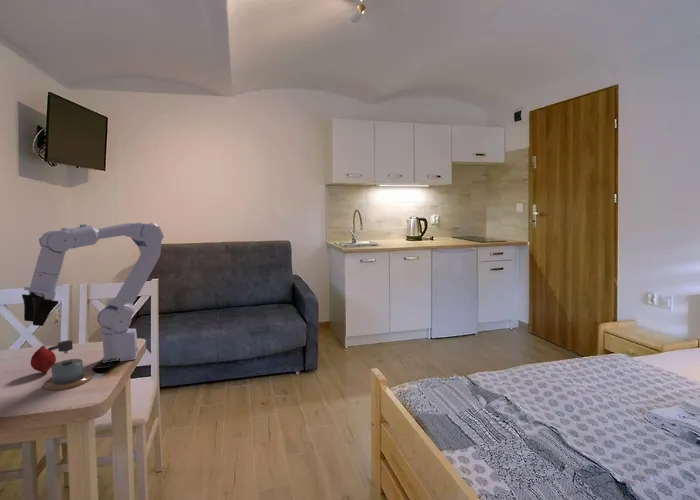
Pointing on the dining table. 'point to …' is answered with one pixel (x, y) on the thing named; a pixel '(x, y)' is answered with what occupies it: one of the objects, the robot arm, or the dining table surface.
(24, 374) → the dining table surface
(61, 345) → the pump head
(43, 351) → the red round fruit
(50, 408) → the dining table surface
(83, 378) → the dispenser
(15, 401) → the dining table surface
